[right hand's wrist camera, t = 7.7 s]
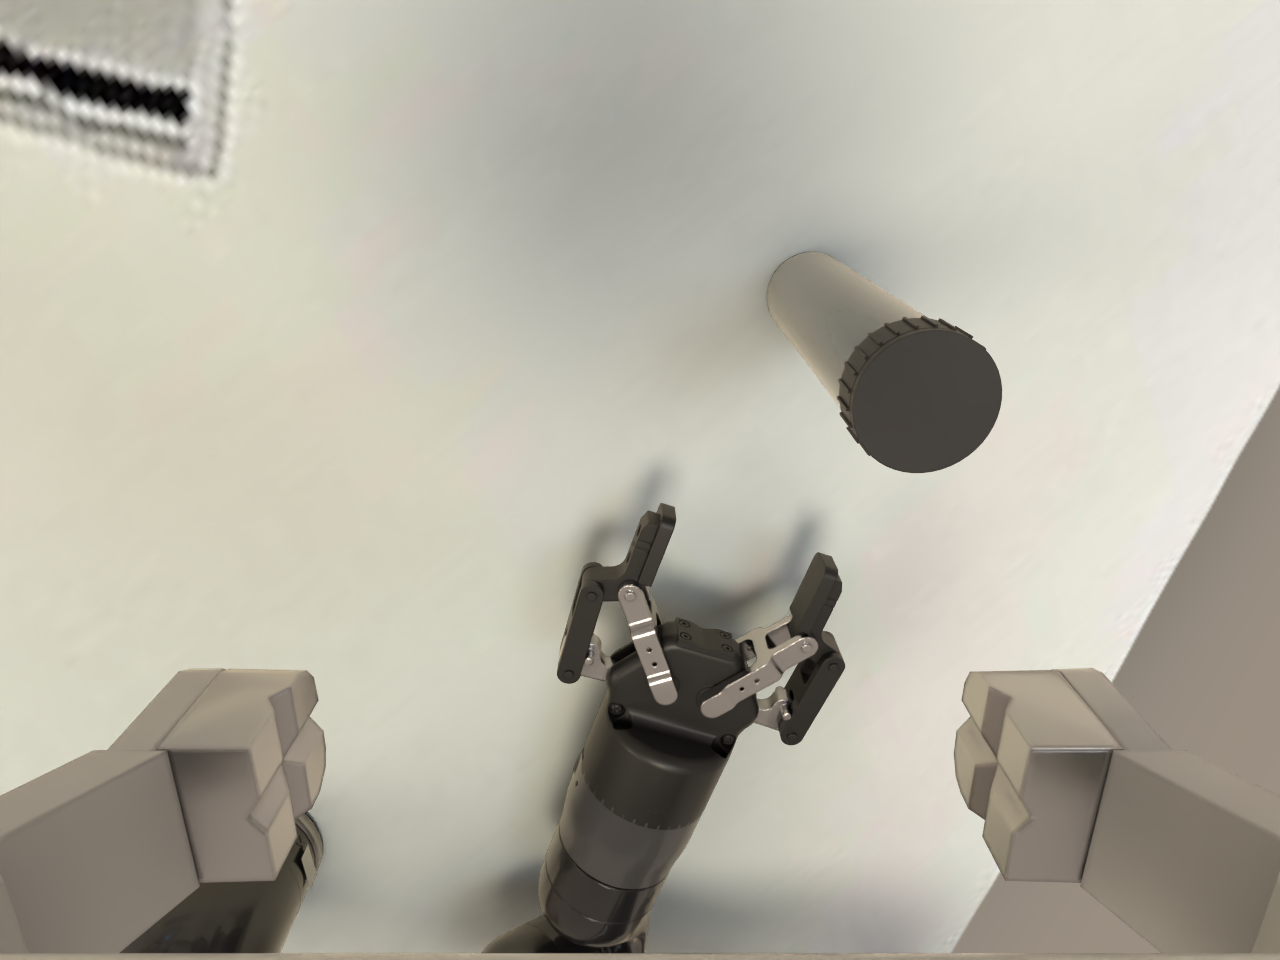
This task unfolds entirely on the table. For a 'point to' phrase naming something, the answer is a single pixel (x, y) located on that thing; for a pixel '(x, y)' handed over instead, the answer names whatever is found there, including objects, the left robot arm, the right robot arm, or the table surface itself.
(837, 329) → the blue-grey bottle
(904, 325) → the lid
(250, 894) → the left robot arm
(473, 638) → the table surface
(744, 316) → the table surface
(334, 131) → the table surface
